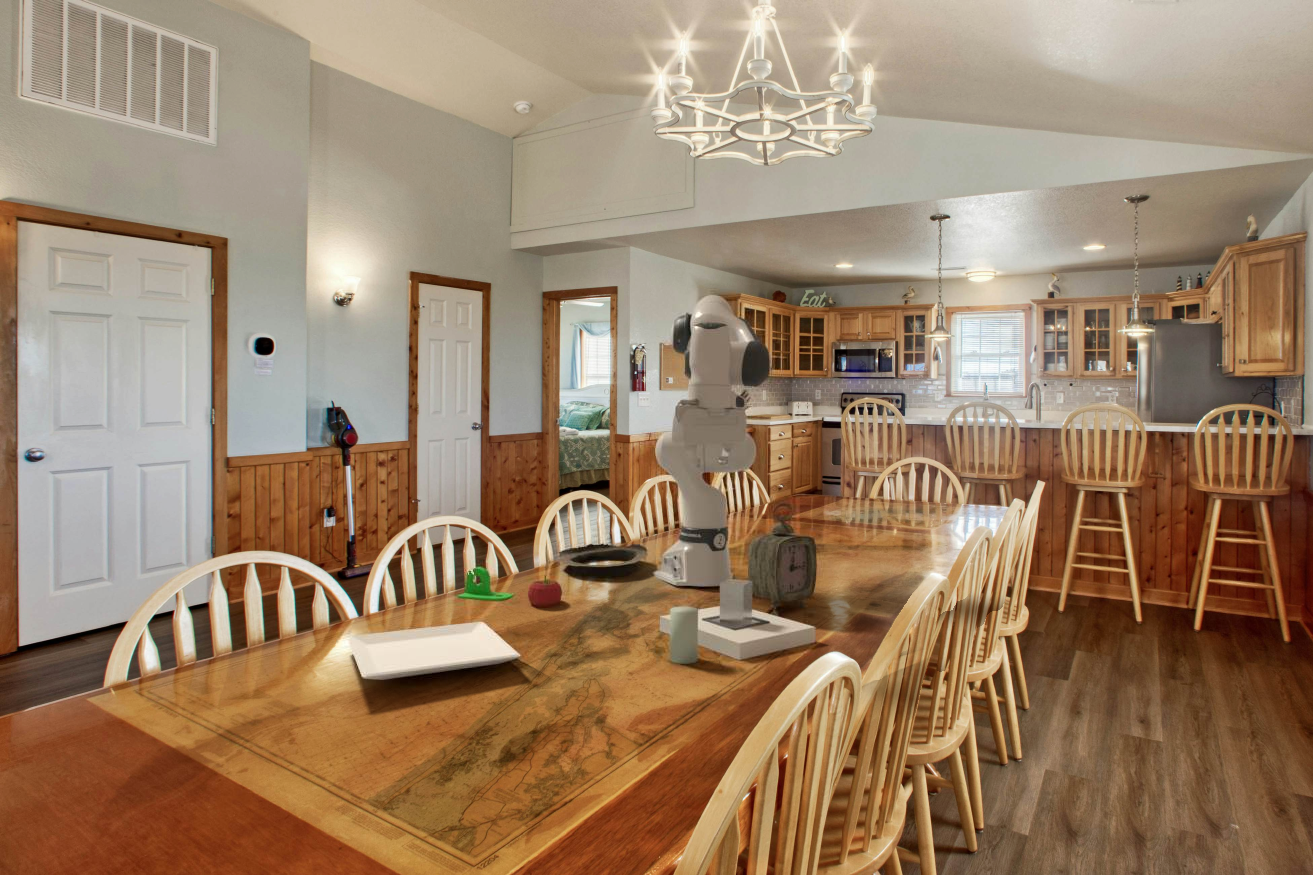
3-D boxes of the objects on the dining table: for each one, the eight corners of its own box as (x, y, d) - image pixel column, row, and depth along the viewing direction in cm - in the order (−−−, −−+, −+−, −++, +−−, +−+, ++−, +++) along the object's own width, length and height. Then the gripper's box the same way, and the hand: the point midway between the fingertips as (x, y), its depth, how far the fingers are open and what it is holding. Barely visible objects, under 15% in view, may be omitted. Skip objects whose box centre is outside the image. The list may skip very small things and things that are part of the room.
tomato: (565, 604, 177) (565, 572, 177) (557, 612, 169) (558, 578, 169) (532, 603, 178) (532, 571, 178) (523, 611, 170) (523, 577, 170)
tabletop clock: (775, 621, 163) (776, 506, 163) (744, 613, 170) (745, 503, 169) (816, 611, 172) (817, 502, 172) (785, 604, 179) (786, 499, 179)
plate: (362, 688, 120) (362, 675, 120) (346, 646, 143) (346, 635, 143) (521, 666, 132) (521, 654, 132) (483, 630, 155) (483, 620, 155)
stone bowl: (608, 570, 223) (608, 538, 223) (668, 582, 205) (668, 548, 205) (539, 581, 205) (539, 547, 205) (598, 595, 187) (598, 558, 187)
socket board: (659, 630, 154) (659, 614, 154) (732, 617, 166) (732, 602, 166) (739, 659, 135) (739, 641, 135) (815, 642, 147) (815, 625, 147)
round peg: (664, 658, 136) (664, 608, 136) (685, 653, 139) (686, 605, 139) (681, 665, 132) (681, 614, 132) (703, 660, 135) (703, 610, 135)
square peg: (719, 637, 150) (719, 582, 150) (728, 631, 154) (729, 578, 154) (743, 641, 147) (743, 585, 147) (751, 635, 152) (752, 580, 152)
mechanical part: (457, 604, 177) (457, 570, 177) (469, 599, 183) (469, 566, 183) (504, 607, 175) (504, 573, 174) (514, 602, 180) (515, 568, 180)
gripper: (688, 399, 147) (687, 469, 148) (751, 400, 162) (751, 464, 162) (664, 399, 152) (664, 467, 152) (728, 400, 166) (728, 462, 167)
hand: (709, 465), depth 157 cm, fingers open, 8 cm apart
